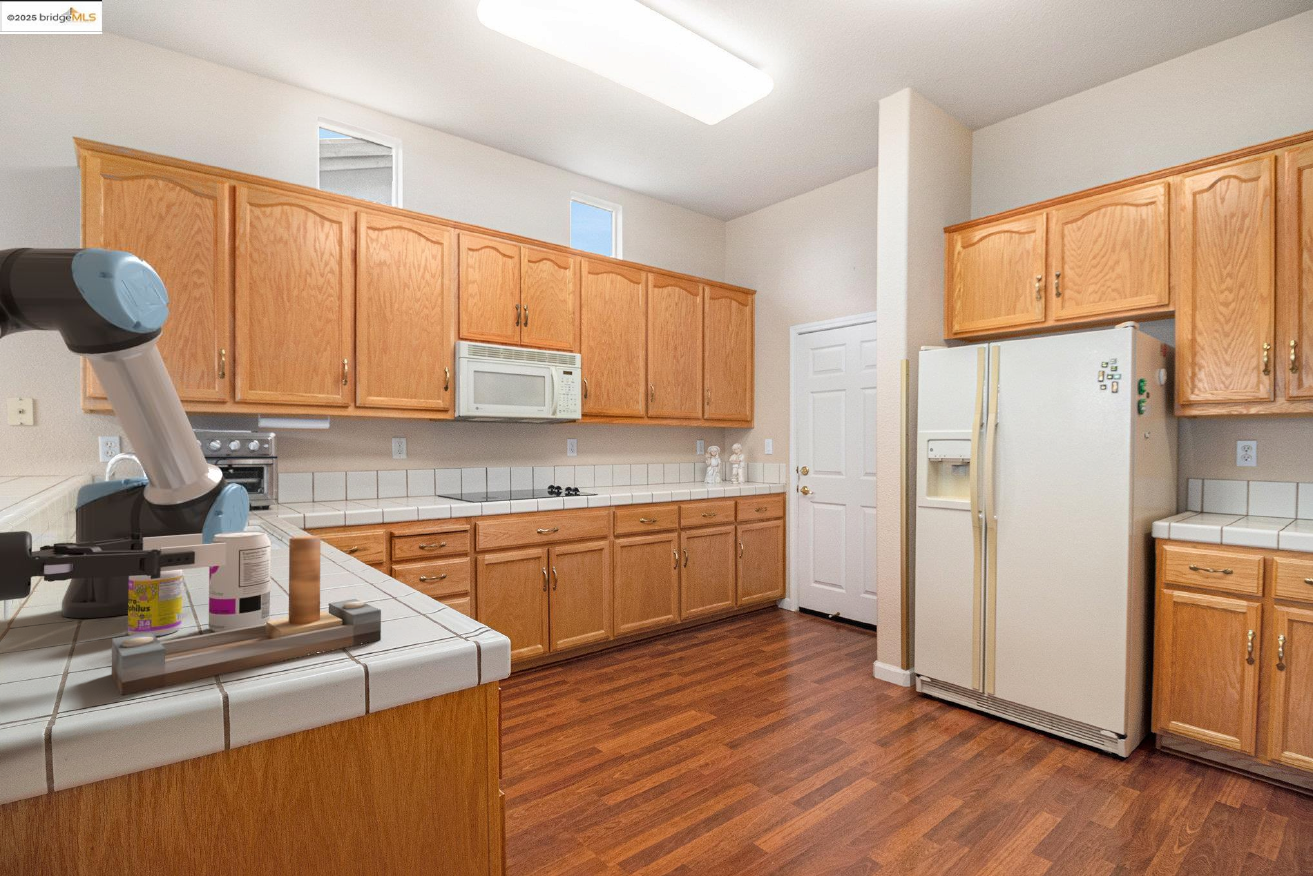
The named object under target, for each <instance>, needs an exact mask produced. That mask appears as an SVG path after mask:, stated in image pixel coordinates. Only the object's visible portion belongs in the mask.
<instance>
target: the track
mask: <svg viewBox="0 0 1313 876" xmlns="http://www.w3.org/2000/svg"><path fill="white" fill-rule="evenodd" d="M328 613H330V614H332V615H334V616H336V617H338V618H340V619H342V626H337V627H332V628H327V629H321V630H316V631H311V632H306V633H300V634H295V635H290V636H284V637H279V638H274V639H271V638H269V637H268V636H267V635H266V624H262V625H256V626H250V627H244V628H238V629H233V630H227V631H221V632H211V633H204V634H200V635H193V636H188V637H183V638H182V637H181V638H176V639H168V640H166V641H165V640H164V641H159V639H158V638H157V637H155V636H154V635H153V633H152V632H150V633H143V634H137V635H131V636H130V635H126V636H121V637H115V638H111V676H112V678H113V680H114V681H115V684H116V685H117V688H118V691H119V692H120V695H122V694H126V695H130V694H133V693H132V692H135V693H138V691H140V692H144V691H148V689H149V690H155V689H158V688H163V687H167V686H172V685H178V684H181V683H186V682H191V681H195V680H200V679H204V678H209V677H210V678H211V677H214V676H219V675H223V674H228V673H233V672H237V671H243V670H247V669H252V668H256V667H261V666H260V665H262V666H265V665H270V663H271V664H275V663H274V662H276V663H280V662H284V661H283V660H285V661H288V660H287V659H290V660H292V659H291V658H294V659H297V658H296V657H299V658H301V657H300V656H304V657H306V656H305V655H308V654H313V655H315V654H314V653H317V652H322V653H324V652H323V651H327V652H330V651H329V650H332V649H337V650H339V649H338V648H341V649H344V648H343V647H346V648H350V647H349V646H351V645H355V646H359V645H358V644H360V645H362V644H361V643H365V644H368V643H367V642H369V643H373V641H374V642H377V641H376V640H379V641H381V639H382V638H381V637H382V634H381V633H382V631H381V630H382V610H381V609H380V608H377V607H375V606H373V605H370V604H368V603H366V602H365V601H361V600H358V599H357V598H351V599H346V600H340V601H335V602H328ZM351 647H352V646H351ZM332 651H333V650H332ZM308 656H309V655H308Z"/></svg>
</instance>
